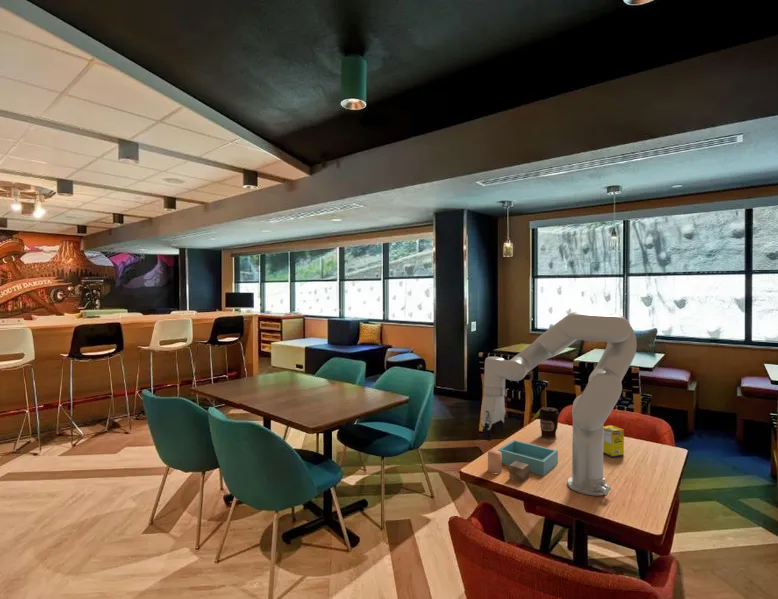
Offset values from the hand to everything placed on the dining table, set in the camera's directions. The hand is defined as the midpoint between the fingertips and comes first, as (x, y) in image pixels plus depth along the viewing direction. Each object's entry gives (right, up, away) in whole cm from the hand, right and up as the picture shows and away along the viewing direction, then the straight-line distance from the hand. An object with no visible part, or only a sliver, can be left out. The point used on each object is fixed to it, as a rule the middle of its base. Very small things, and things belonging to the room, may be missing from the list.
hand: (493, 436), depth 157 cm
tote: (+15, -13, +7) cm, 21 cm away
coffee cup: (+34, -12, +36) cm, 51 cm away
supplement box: (+52, -13, +15) cm, 56 cm away
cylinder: (+1, -13, 0) cm, 13 cm away
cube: (+8, -13, -6) cm, 16 cm away
